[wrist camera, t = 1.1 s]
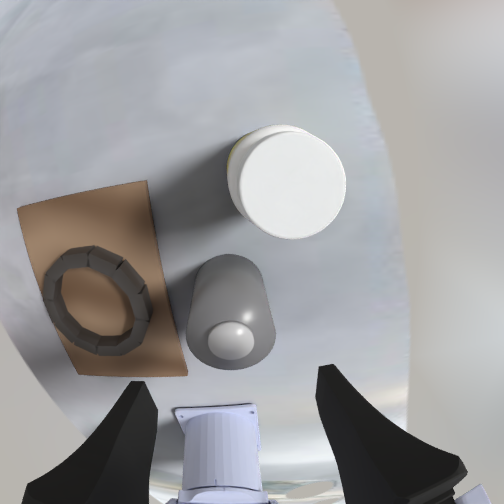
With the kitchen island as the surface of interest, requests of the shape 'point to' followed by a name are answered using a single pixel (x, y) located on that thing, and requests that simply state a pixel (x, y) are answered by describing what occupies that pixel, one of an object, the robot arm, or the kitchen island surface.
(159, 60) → the kitchen island surface
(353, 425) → the robot arm
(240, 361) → the cap
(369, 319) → the kitchen island surface
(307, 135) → the supplement bottle
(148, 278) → the ring board
